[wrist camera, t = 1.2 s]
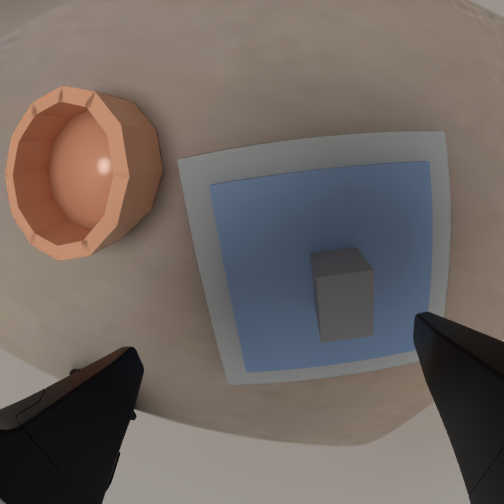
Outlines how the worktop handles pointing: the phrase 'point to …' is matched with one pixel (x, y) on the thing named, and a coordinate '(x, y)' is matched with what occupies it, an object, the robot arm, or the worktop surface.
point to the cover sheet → (320, 224)
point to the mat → (294, 160)
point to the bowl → (81, 171)
